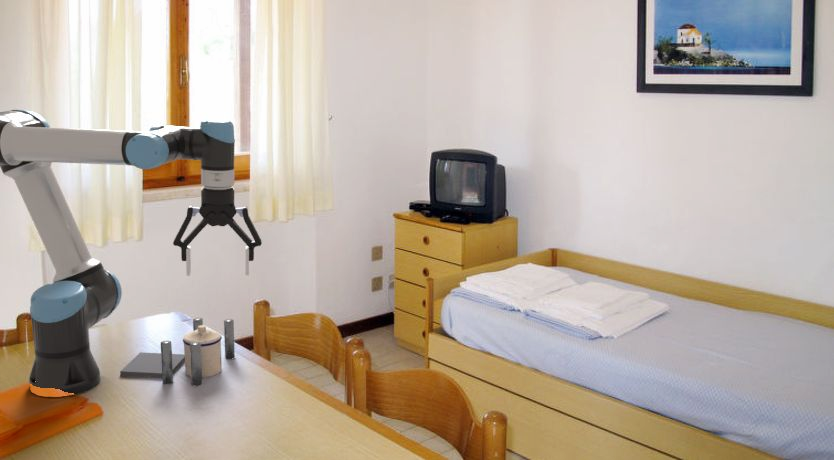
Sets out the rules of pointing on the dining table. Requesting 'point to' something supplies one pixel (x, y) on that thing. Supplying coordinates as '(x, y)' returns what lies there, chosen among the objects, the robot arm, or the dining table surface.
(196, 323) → the post back left
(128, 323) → the dining table surface
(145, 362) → the coaster
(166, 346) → the post front left
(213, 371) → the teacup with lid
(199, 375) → the post front right
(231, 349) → the post back right
